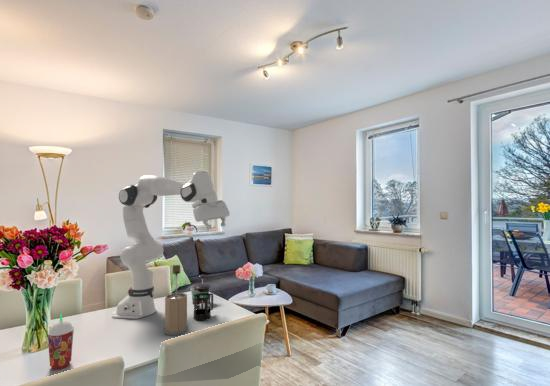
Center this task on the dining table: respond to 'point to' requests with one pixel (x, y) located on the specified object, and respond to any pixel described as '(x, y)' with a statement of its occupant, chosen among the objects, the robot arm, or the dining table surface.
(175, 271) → the plunger
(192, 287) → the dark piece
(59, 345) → the smoothie
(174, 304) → the kraft paper canister
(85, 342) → the dining table surface
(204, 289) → the french press
